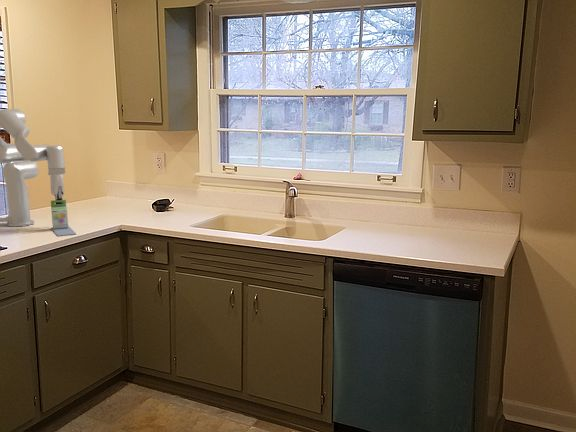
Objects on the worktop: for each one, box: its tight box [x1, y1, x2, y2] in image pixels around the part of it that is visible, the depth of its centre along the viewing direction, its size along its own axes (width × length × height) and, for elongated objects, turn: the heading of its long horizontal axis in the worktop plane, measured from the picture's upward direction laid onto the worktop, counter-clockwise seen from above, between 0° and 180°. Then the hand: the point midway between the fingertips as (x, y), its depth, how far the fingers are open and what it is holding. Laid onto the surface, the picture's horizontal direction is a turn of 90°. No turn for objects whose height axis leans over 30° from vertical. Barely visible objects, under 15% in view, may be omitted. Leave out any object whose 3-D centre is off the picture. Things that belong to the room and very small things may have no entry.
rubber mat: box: [50, 225, 77, 237], centre depth 257 cm, size 8×20×1 cm, turn 31°
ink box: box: [50, 199, 69, 229], centre depth 259 cm, size 7×4×13 cm, turn 115°
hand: (59, 209), depth 262 cm, fingers closed
